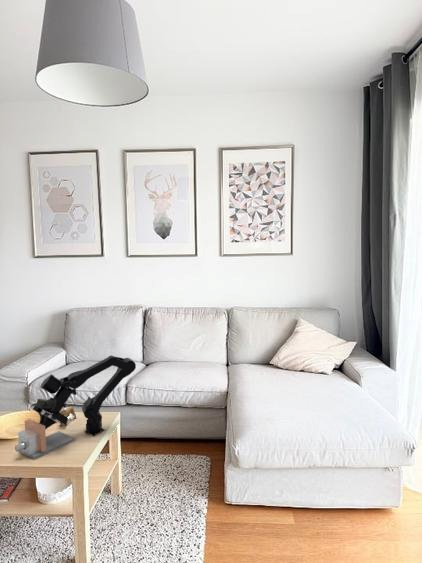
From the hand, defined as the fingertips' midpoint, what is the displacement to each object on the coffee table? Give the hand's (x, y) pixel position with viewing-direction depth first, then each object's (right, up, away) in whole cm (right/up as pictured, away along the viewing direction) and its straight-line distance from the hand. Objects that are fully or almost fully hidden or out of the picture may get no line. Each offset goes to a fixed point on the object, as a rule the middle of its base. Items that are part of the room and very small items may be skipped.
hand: (37, 433), depth 158 cm
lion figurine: (+3, -6, +26) cm, 27 cm away
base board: (+2, -7, +4) cm, 8 cm away
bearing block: (-2, -6, -3) cm, 7 cm away
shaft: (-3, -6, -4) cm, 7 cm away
